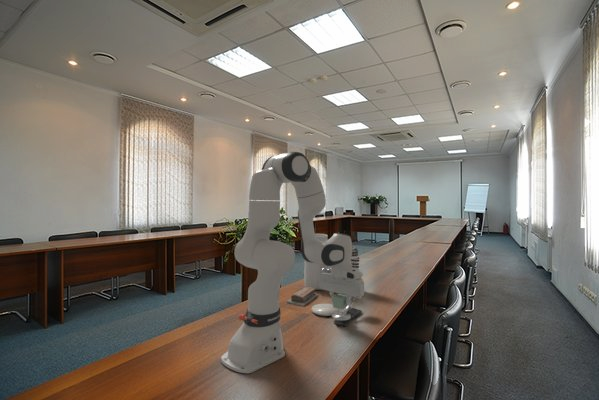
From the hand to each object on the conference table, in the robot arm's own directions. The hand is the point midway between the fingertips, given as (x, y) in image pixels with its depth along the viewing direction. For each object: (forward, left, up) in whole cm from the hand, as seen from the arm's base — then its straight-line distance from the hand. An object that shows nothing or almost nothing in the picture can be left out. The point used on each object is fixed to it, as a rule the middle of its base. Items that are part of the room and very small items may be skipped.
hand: (340, 303), depth 123 cm
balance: (+8, 0, -9) cm, 12 cm away
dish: (+8, +12, -9) cm, 17 cm away
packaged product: (+16, +30, -10) cm, 35 cm away
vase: (+38, +36, -9) cm, 53 cm away
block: (0, 0, -1) cm, 1 cm away
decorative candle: (+45, +16, -9) cm, 48 cm away
